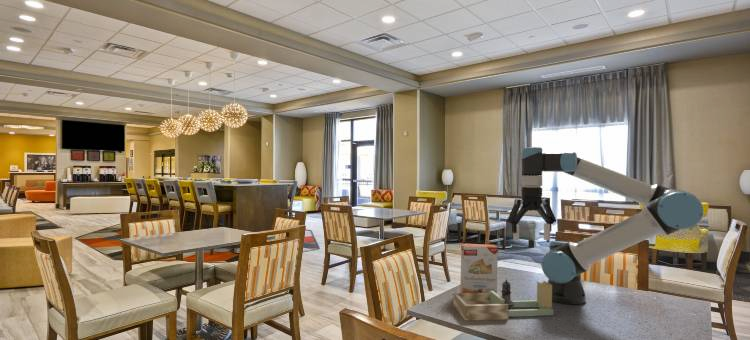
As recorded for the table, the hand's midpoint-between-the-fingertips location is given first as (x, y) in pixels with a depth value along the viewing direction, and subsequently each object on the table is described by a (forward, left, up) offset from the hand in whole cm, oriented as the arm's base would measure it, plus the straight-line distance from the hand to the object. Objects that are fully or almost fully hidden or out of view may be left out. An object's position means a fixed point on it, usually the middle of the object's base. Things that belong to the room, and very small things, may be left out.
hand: (531, 240), depth 154 cm
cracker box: (+18, -10, -25) cm, 32 cm away
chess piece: (+14, +9, -25) cm, 30 cm away
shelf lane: (+24, +9, -24) cm, 35 cm away
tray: (+8, +9, -24) cm, 27 cm away
